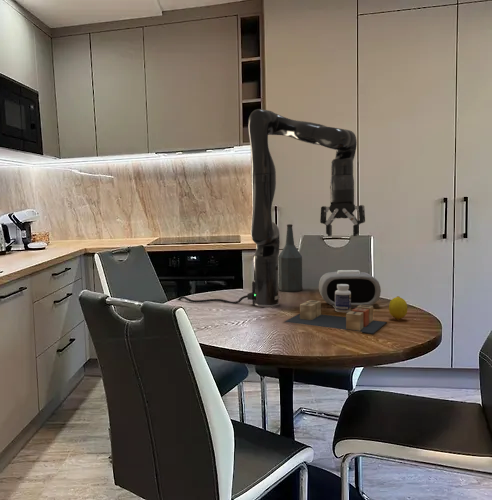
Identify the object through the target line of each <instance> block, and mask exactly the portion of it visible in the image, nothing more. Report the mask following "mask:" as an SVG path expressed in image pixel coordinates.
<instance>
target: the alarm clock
mask: <svg viewBox="0 0 492 500" xmlns="http://www.w3.org/2000/svg"><path fill="white" fill-rule="evenodd" d="M337 284H347V285H349V289H348V290H349V291H350V292H351V309H355V308H357V307H358V306H359V305H369V306H374V305H375V304H376V303H378V301H379V300H380V297H381V293H382V289H381V284H380V282H379V281H378V279H377V278H375V276H373V275H372V274H370V273H368V272H364V271H360V270H359V269H340V270H339V269H338V270H337V271H332V272H331V271H330V272H326V273H324V274H323V275H321V277H320V279H319V282H318V292H319V295H320V296H321V298H322V300H323V301H324V302H325V303H326V304H328V305H329V306H332V307H333V308H334V309H335V291H336V290H338V289H337Z"/></svg>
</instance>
